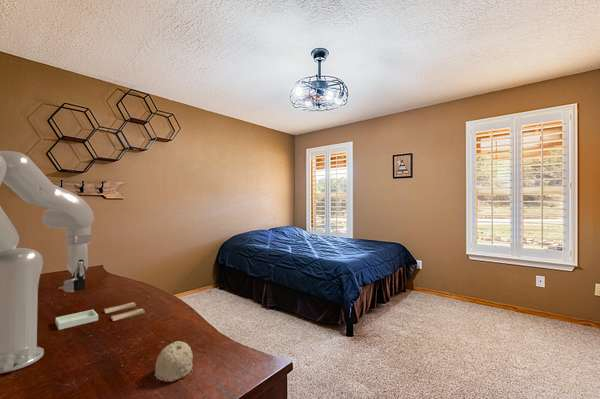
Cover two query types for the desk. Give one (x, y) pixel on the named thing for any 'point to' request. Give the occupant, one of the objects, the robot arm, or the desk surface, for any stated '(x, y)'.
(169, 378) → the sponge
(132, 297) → the desk surface
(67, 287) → the usb wall charger
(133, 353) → the desk surface
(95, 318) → the tray
